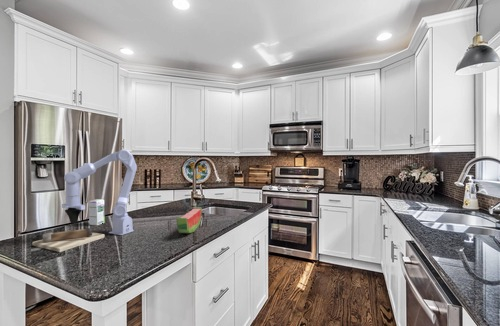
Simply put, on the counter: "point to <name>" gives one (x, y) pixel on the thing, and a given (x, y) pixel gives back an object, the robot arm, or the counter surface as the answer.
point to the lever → (67, 234)
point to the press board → (67, 242)
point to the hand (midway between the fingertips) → (73, 223)
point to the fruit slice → (189, 221)
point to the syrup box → (96, 212)
